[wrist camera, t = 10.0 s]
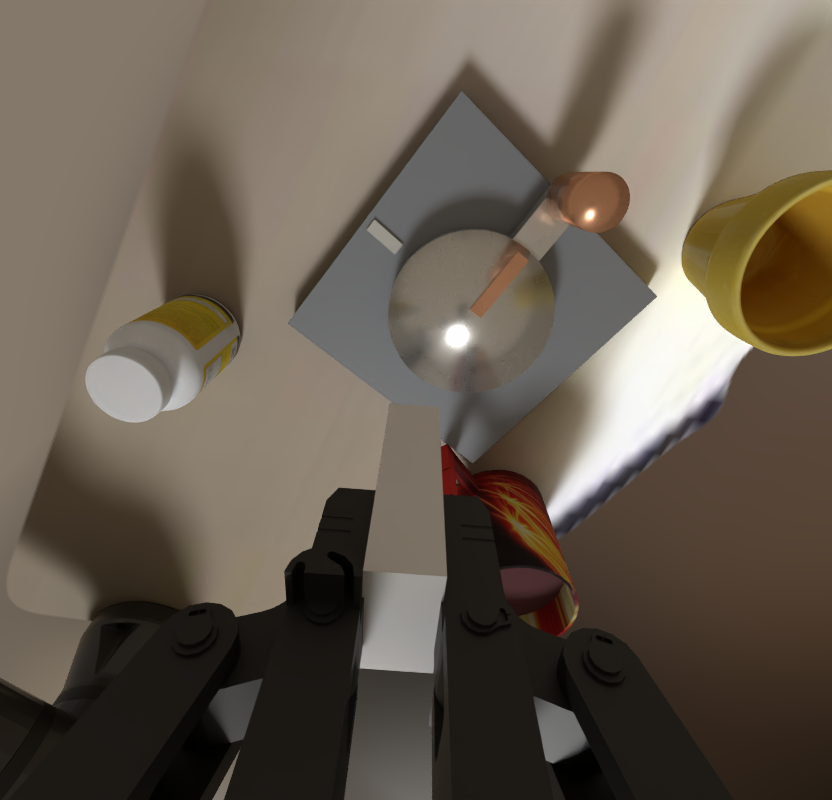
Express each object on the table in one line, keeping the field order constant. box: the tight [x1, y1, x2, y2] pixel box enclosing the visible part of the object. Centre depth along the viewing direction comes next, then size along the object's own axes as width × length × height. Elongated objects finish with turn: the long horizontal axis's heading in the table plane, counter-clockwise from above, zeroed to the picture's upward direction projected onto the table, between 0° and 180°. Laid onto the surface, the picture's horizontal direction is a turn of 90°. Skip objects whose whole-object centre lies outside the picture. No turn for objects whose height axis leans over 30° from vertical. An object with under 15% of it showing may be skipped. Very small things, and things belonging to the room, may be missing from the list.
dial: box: [388, 172, 630, 393], centre depth 31 cm, size 18×12×8 cm
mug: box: [441, 444, 579, 637], centre depth 41 cm, size 10×14×12 cm
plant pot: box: [682, 170, 832, 356], centre depth 30 cm, size 10×10×10 cm
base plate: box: [288, 91, 657, 463], centre depth 36 cm, size 20×20×2 cm
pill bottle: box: [85, 294, 240, 422], centre depth 33 cm, size 6×6×12 cm
